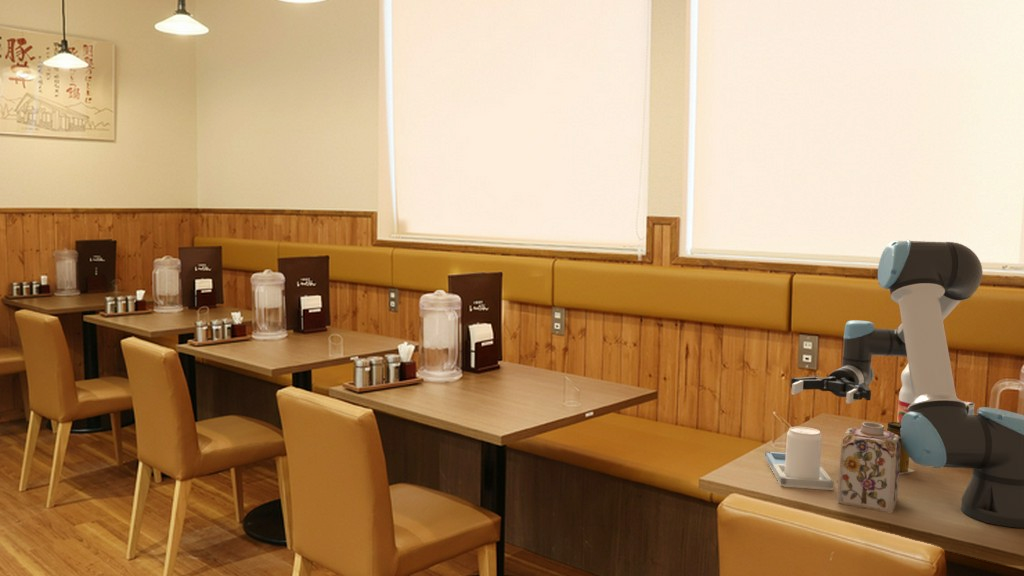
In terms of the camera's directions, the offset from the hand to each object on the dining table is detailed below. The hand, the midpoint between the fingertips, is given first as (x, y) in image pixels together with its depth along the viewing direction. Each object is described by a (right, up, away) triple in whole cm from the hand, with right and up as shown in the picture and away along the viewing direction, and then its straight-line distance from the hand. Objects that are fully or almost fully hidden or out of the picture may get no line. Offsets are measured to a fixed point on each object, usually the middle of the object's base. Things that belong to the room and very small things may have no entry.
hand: (819, 393), depth 209 cm
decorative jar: (+4, -22, -20) cm, 30 cm away
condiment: (+21, -21, +6) cm, 30 cm away
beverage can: (-7, -20, -6) cm, 22 cm away
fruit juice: (+40, -19, +35) cm, 56 cm away
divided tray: (-6, -20, 0) cm, 21 cm away
